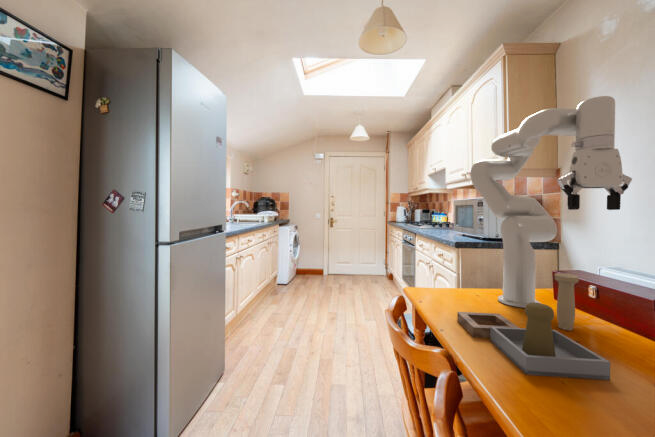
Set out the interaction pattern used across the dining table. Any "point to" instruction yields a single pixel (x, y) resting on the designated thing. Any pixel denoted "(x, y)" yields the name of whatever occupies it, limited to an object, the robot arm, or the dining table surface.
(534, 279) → the robot arm
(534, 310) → the cork
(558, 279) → the handle
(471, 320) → the socket block
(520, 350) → the tray
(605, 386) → the dining table surface
